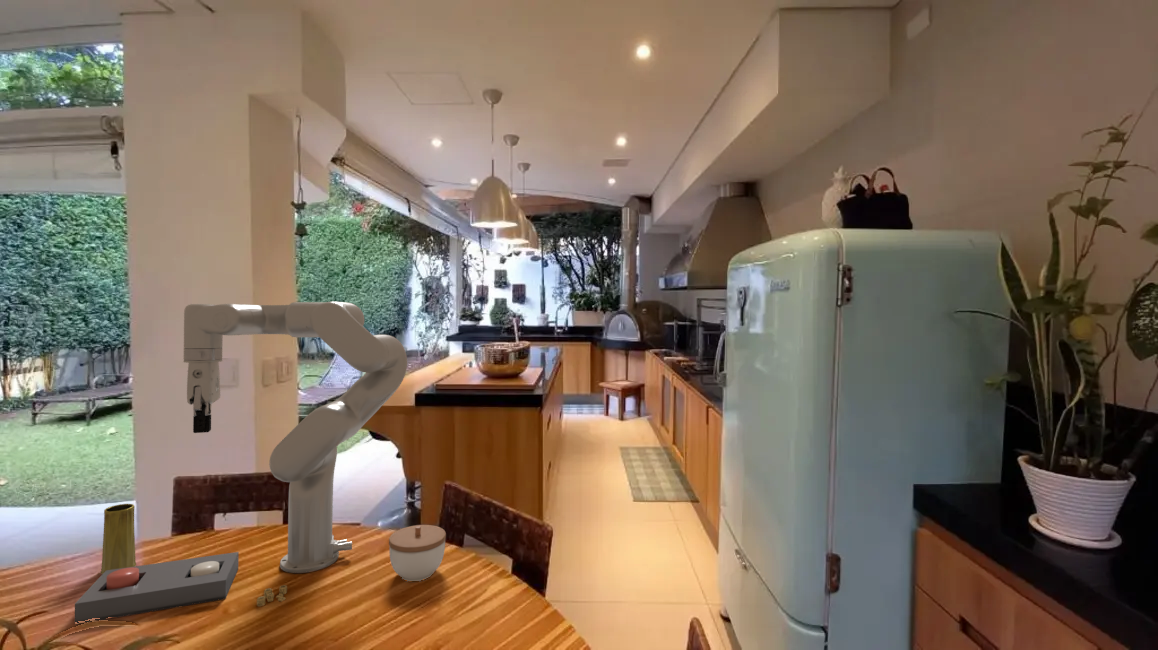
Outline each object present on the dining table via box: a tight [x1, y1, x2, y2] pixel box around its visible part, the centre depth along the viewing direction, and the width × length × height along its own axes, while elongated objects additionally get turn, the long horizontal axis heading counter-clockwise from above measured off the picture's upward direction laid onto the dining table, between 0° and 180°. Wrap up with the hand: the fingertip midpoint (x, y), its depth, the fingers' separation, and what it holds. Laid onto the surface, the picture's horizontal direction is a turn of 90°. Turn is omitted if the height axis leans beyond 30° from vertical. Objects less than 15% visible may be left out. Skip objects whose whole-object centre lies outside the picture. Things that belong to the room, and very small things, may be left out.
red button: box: [106, 567, 139, 590], centre depth 106 cm, size 5×5×3 cm
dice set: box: [256, 584, 288, 607], centre depth 108 cm, size 5×5×2 cm
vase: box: [100, 503, 137, 575], centre depth 119 cm, size 6×6×14 cm
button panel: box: [74, 551, 240, 623], centre depth 109 cm, size 24×14×4 cm, turn 114°
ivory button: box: [191, 561, 219, 577], centre depth 112 cm, size 5×5×3 cm
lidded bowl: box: [388, 524, 447, 582], centre depth 120 cm, size 13×13×11 cm
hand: (202, 431), depth 124 cm, fingers closed
